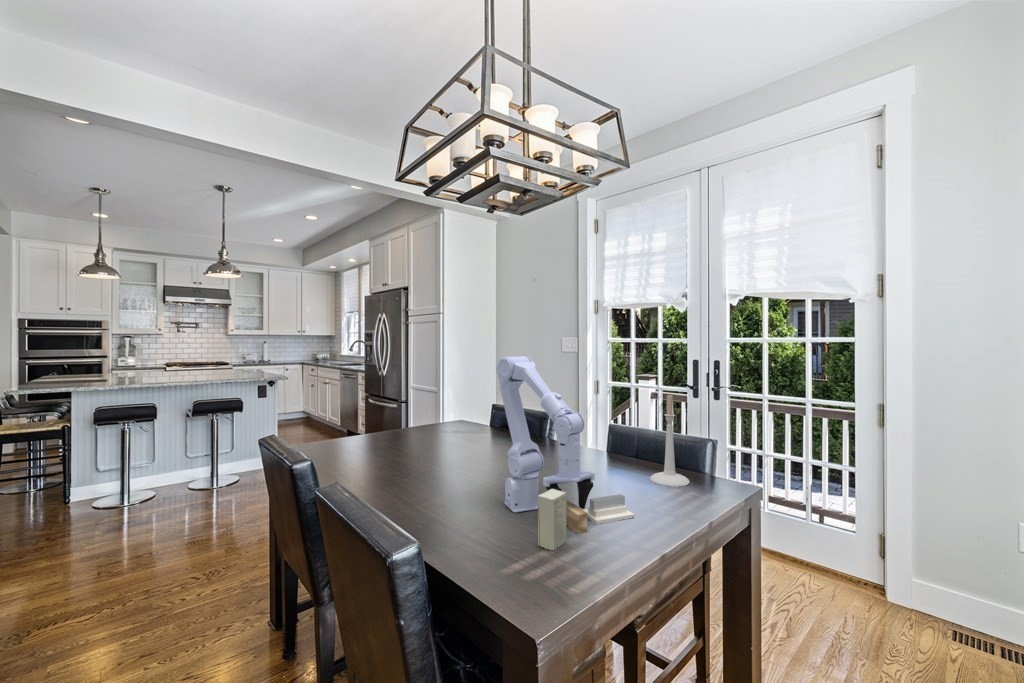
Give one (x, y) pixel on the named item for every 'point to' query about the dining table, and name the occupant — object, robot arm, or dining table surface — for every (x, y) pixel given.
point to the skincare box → (551, 519)
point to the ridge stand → (608, 509)
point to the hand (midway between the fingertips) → (569, 509)
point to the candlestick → (669, 455)
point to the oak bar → (576, 517)
